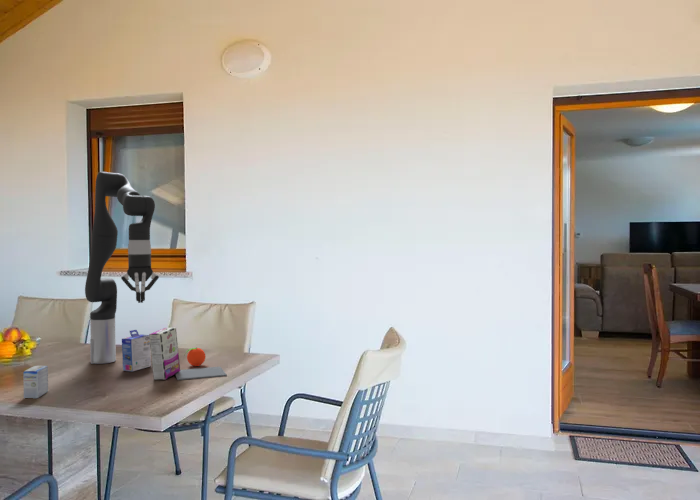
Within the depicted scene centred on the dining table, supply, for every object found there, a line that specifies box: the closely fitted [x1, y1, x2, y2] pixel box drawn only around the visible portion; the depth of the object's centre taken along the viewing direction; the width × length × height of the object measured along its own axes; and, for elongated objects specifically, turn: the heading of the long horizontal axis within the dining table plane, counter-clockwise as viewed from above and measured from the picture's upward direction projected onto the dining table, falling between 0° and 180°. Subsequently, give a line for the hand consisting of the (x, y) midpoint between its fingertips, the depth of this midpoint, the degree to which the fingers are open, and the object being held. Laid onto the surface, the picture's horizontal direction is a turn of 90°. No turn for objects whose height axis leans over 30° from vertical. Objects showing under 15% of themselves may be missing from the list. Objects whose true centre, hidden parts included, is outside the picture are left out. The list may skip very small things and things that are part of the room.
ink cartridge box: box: [121, 329, 152, 372], centre depth 230 cm, size 10×6×14 cm, turn 155°
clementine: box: [184, 347, 206, 367], centre depth 234 cm, size 8×7×7 cm
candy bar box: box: [148, 326, 181, 381], centre depth 217 cm, size 11×5×16 cm, turn 168°
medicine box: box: [22, 365, 49, 399], centre depth 193 cm, size 8×4×9 cm, turn 5°
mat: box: [174, 366, 228, 381], centre depth 221 cm, size 17×14×1 cm
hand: (140, 302), depth 213 cm, fingers closed
